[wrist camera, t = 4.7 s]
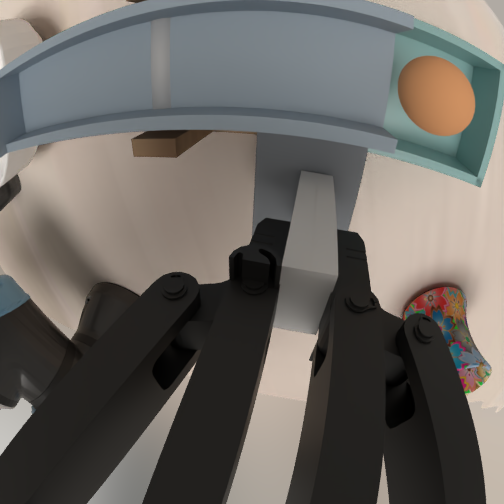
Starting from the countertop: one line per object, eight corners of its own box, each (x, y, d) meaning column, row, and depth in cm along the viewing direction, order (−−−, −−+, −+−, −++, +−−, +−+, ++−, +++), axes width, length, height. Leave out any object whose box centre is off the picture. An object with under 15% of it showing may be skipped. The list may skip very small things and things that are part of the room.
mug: (449, 264, 22) (480, 354, 14) (476, 303, 24) (498, 378, 16) (365, 321, 29) (366, 405, 21) (403, 347, 31) (408, 418, 23)
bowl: (18, 5, 10) (-34, 17, 3) (101, 32, 14) (27, 41, 8) (-8, 124, 22) (-48, 148, 15) (56, 184, 26) (10, 221, 20)
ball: (399, 117, 11) (383, 120, 9) (409, 54, 8) (394, 37, 6) (464, 144, 9) (467, 156, 7) (476, 78, 7) (484, 68, 5)
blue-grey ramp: (55, 214, 18) (23, 246, 14) (24, 61, 9) (-21, 76, 6) (345, 246, 16) (354, 299, 12) (387, 20, 7) (425, 5, 4)
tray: (312, 125, 18) (311, 141, 14) (322, 11, 12) (324, -5, 8) (454, 163, 16) (480, 187, 12) (474, 62, 10) (507, 67, 7)
